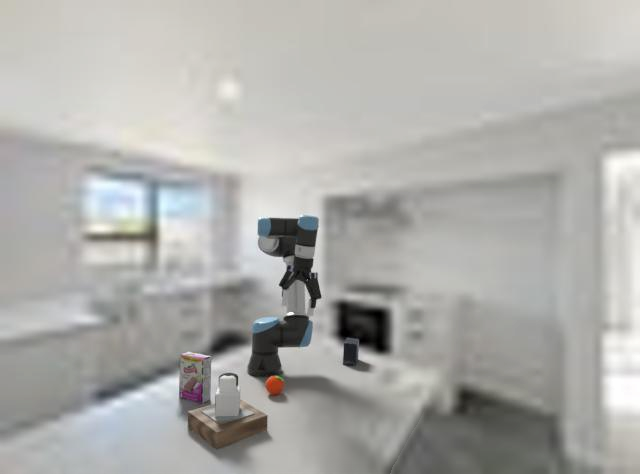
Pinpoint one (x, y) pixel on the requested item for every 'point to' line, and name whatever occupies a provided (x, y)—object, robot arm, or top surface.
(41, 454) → the top surface
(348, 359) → the small box
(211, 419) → the walnut base
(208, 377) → the candy bar box
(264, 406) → the top surface
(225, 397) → the medicine bottle
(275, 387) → the clementine
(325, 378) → the top surface
